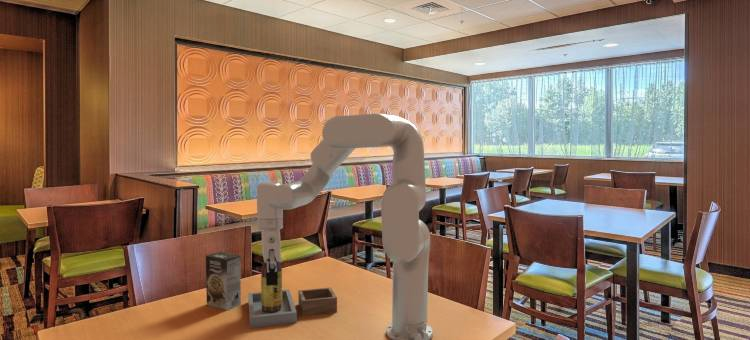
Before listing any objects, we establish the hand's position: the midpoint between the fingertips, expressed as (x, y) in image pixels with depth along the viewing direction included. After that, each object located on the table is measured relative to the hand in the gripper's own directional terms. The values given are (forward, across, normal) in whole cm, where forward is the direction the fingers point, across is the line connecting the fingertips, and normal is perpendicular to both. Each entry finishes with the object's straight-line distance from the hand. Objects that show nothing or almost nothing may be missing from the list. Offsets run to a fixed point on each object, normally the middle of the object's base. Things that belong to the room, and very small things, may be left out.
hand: (270, 280), depth 133 cm
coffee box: (+10, +10, +14) cm, 20 cm away
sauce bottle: (+9, 0, 0) cm, 9 cm away
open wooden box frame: (+10, -1, -14) cm, 17 cm away
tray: (+10, 0, 0) cm, 10 cm away
